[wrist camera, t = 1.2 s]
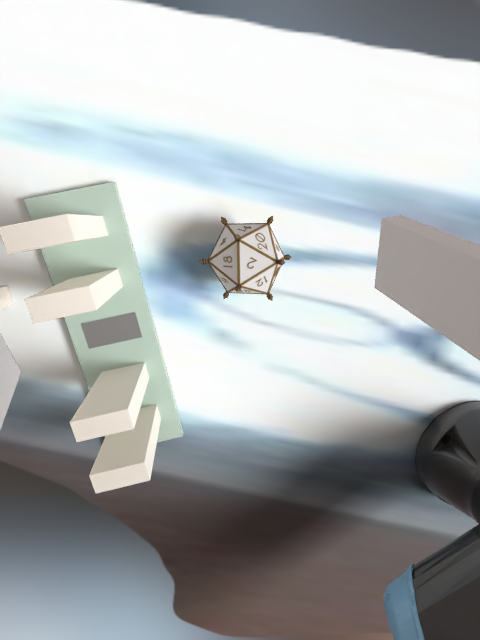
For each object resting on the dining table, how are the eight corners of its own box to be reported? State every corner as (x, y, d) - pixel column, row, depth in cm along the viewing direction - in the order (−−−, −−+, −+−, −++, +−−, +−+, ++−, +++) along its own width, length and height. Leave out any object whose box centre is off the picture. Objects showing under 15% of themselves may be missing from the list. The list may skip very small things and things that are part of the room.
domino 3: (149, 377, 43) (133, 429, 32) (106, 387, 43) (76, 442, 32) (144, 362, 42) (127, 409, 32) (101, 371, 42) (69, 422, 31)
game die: (225, 243, 45) (198, 193, 35) (296, 243, 42) (287, 189, 33) (215, 313, 42) (183, 279, 33) (289, 317, 40) (278, 282, 31)
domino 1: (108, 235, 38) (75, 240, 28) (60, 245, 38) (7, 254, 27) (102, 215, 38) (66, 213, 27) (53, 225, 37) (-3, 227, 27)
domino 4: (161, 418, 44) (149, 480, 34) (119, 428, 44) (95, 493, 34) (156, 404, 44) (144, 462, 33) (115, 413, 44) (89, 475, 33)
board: (183, 431, 46) (183, 436, 45) (112, 448, 46) (110, 453, 45) (115, 182, 38) (113, 181, 37) (28, 199, 37) (23, 199, 36)
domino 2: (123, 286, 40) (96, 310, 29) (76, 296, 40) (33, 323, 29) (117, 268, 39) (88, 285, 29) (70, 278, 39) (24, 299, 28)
